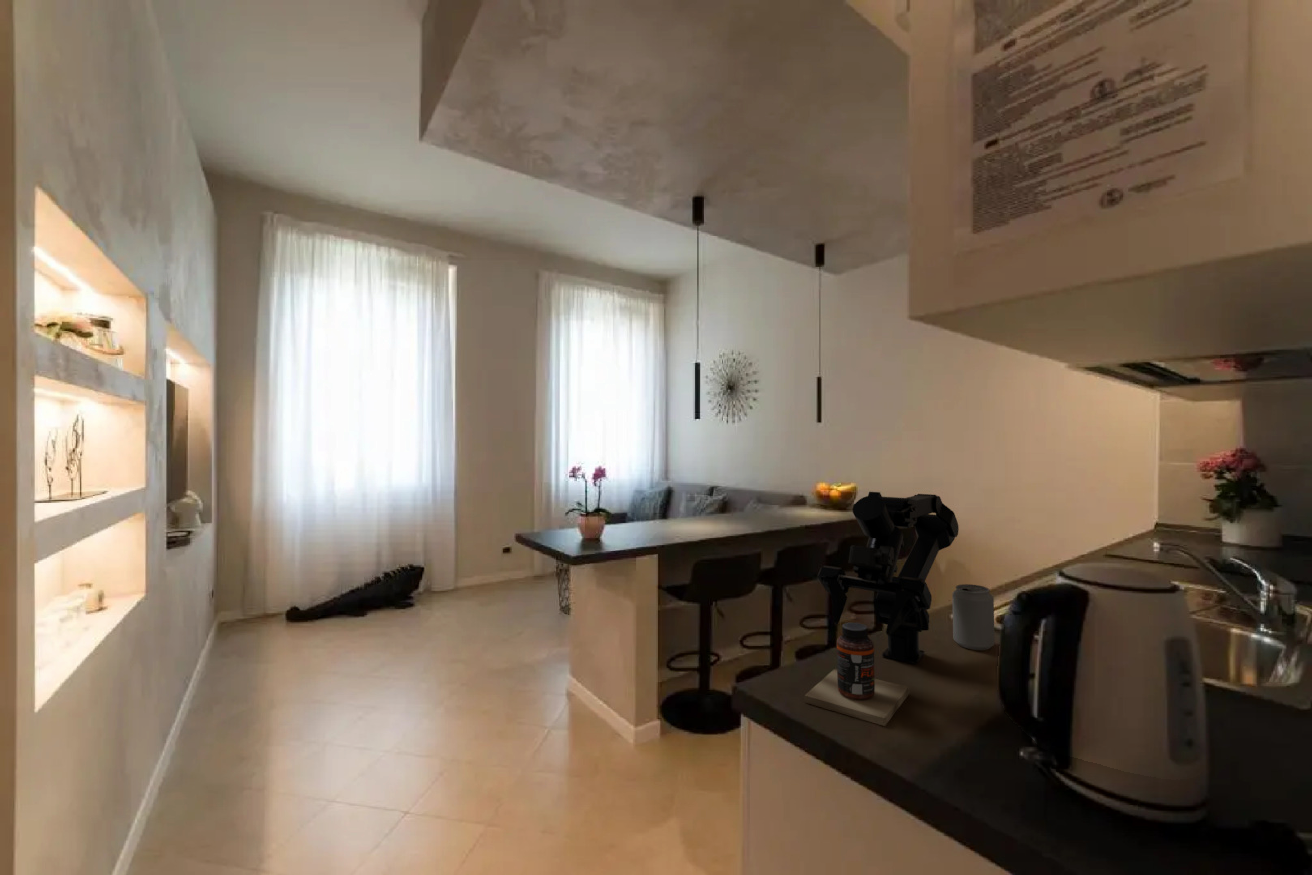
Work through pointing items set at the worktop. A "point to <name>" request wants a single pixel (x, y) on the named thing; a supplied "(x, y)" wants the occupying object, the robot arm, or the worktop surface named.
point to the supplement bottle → (855, 662)
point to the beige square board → (869, 709)
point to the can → (973, 617)
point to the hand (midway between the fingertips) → (860, 628)
